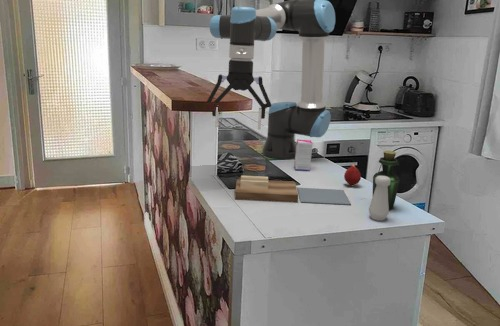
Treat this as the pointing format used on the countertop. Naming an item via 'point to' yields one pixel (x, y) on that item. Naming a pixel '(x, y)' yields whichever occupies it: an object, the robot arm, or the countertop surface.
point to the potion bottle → (387, 166)
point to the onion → (352, 175)
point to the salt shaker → (380, 199)
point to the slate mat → (323, 196)
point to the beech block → (254, 182)
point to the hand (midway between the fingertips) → (238, 127)
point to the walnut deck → (269, 192)
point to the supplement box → (303, 155)
